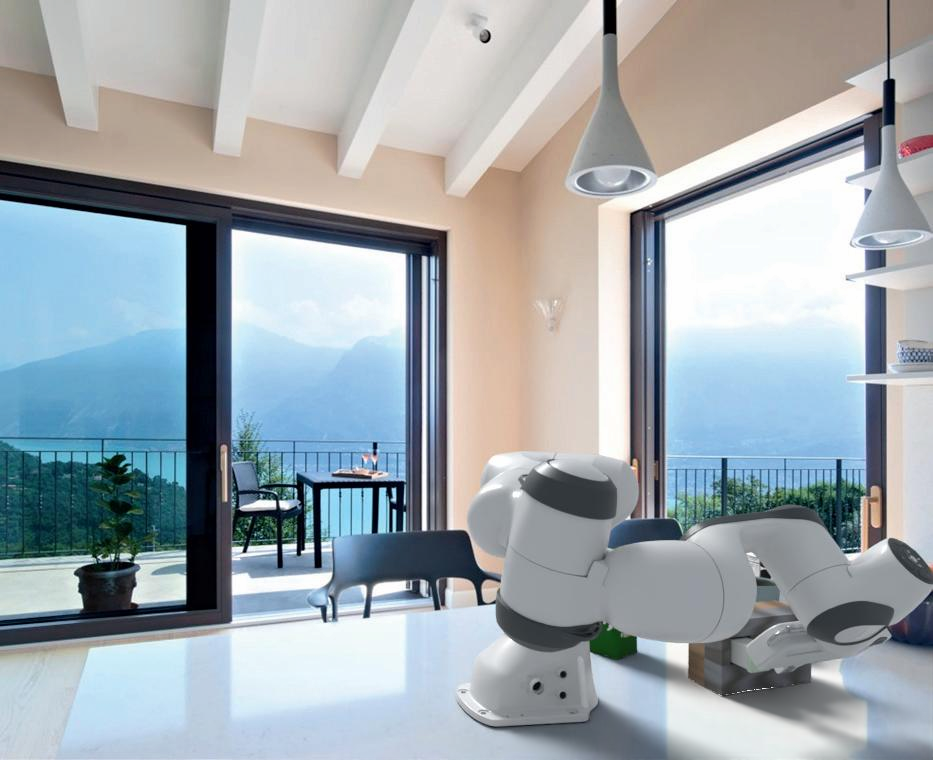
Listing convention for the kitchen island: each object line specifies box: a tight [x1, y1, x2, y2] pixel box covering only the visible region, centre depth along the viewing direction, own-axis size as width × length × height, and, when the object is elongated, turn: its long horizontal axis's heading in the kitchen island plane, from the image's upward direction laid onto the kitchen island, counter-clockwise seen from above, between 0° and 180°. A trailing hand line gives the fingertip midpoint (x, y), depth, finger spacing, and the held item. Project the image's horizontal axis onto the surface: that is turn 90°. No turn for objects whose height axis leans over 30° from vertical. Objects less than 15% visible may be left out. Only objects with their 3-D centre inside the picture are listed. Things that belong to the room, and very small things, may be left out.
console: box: [687, 600, 812, 696], centre depth 118 cm, size 20×8×12 cm, turn 112°
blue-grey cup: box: [755, 577, 780, 602], centre depth 142 cm, size 10×10×12 cm
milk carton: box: [590, 546, 638, 661], centre depth 131 cm, size 9×9×20 cm
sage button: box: [730, 637, 770, 673], centre depth 110 cm, size 4×5×4 cm
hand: (780, 668), depth 104 cm, fingers closed
